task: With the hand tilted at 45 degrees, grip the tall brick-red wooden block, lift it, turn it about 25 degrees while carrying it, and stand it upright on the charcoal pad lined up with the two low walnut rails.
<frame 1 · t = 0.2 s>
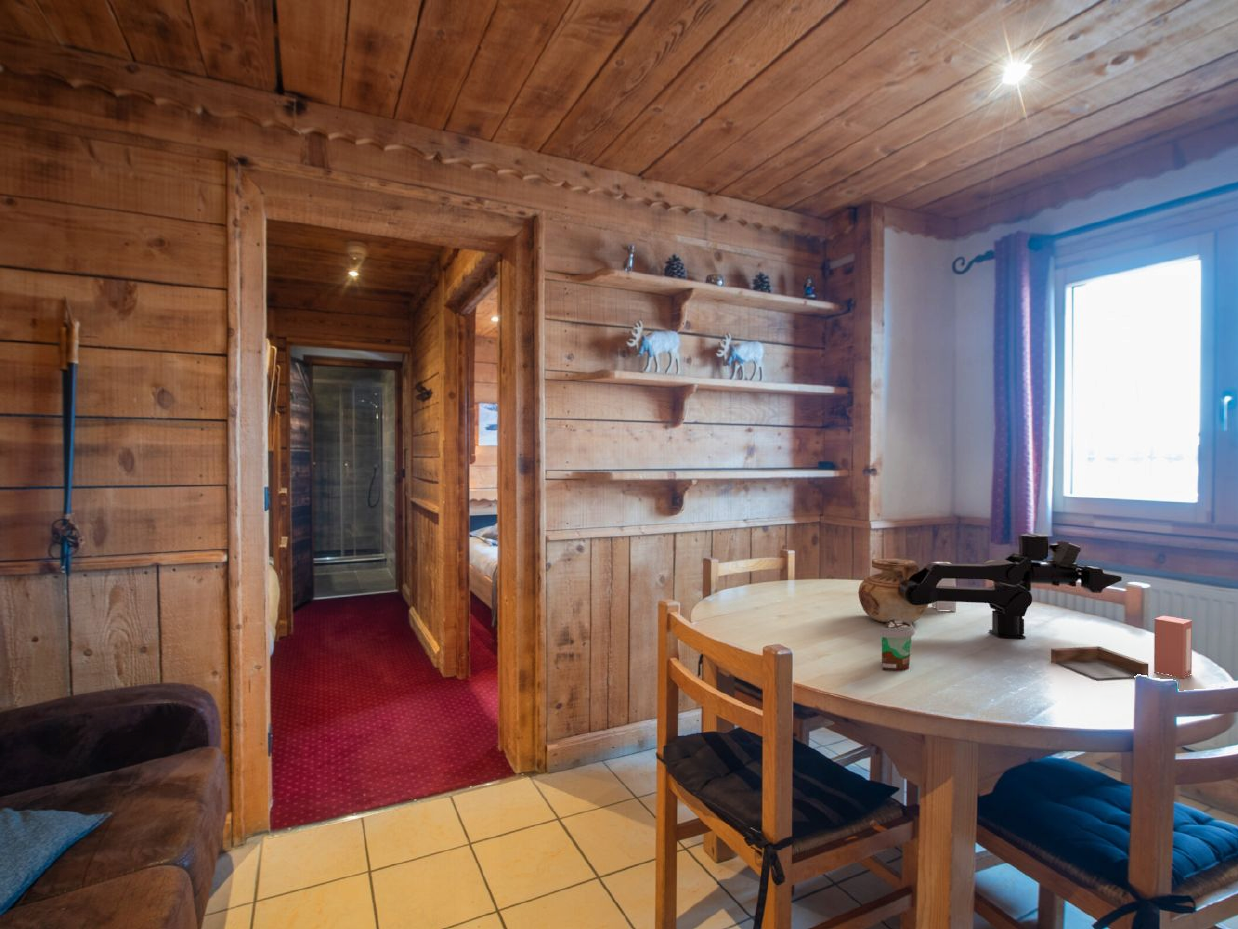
hand: (1109, 575, 167), 17 cm above the table, tool horizontal, fingers open, 9 cm apart
clay pot: (893, 621, 185), on the table, touching arm
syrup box: (943, 610, 198), on the table
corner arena: (1097, 670, 142), on the table
red block: (1172, 673, 140), on the table
food container: (900, 667, 146), on the table
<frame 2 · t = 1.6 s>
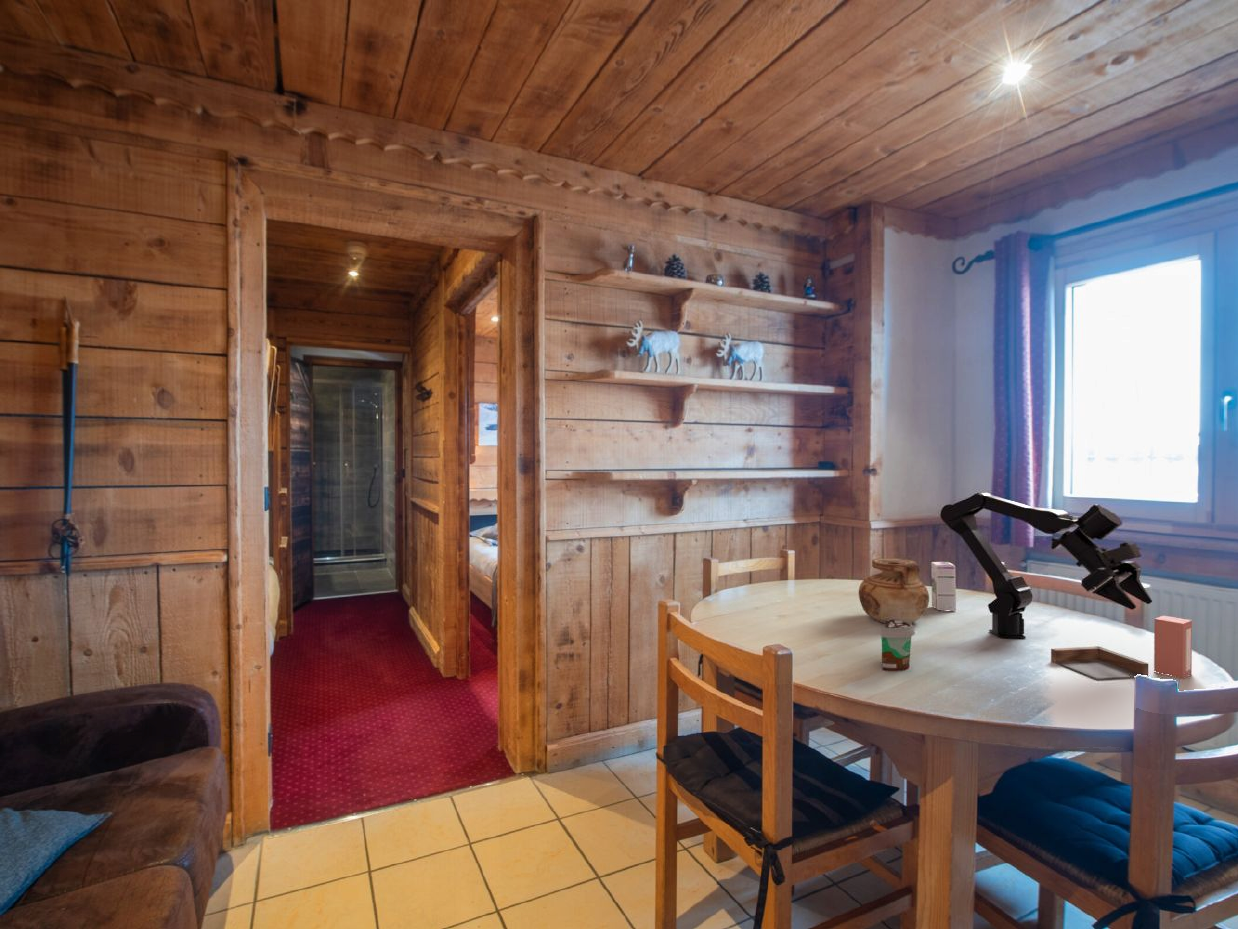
hand: (1142, 605, 145), 14 cm above the table, tool tilted 45°, fingers open, 9 cm apart
clay pot: (893, 621, 186), on the table
everything else where it was.
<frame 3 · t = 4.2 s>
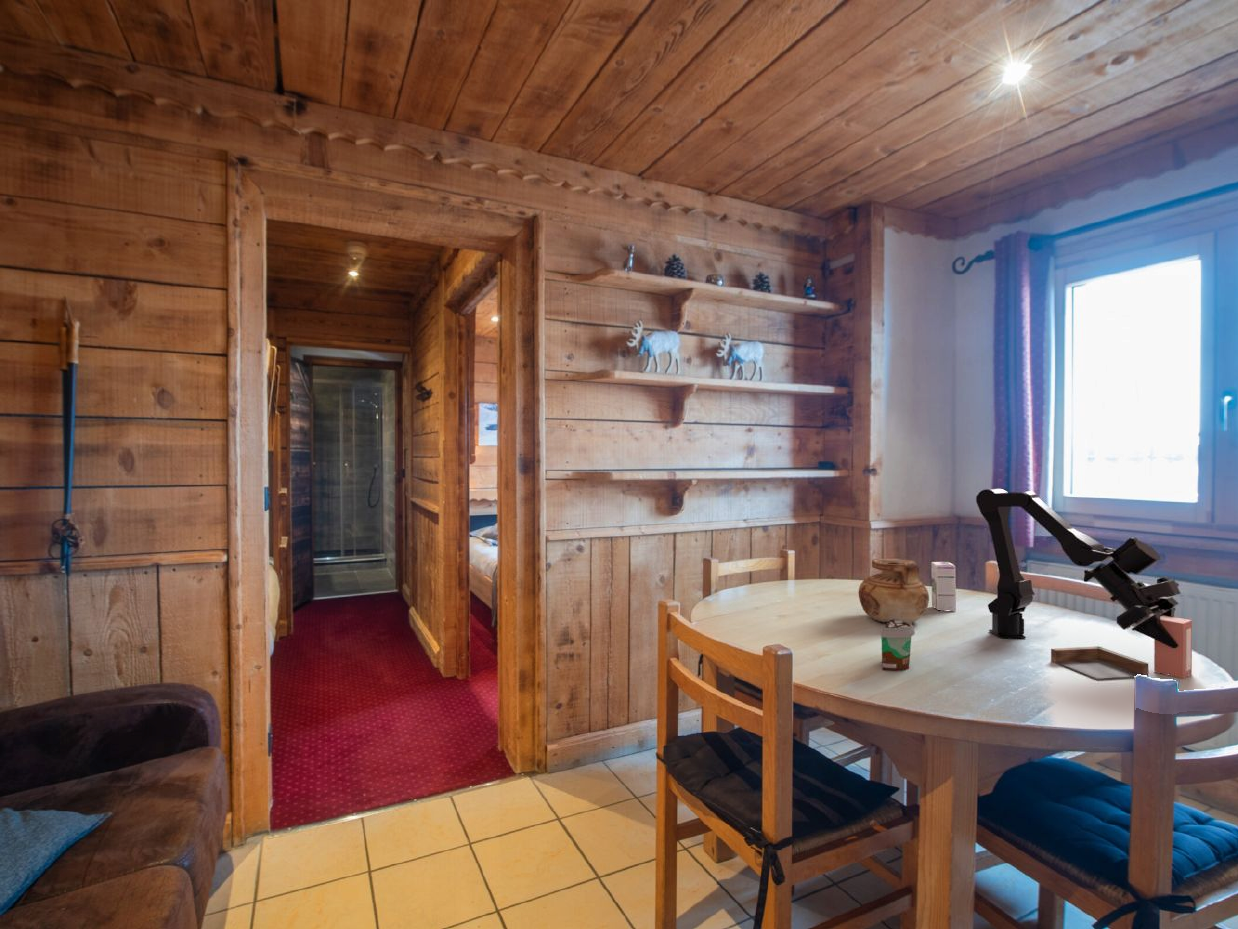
hand: (1181, 645, 139), 7 cm above the table, tool tilted 45°, fingers closed on red block, 5 cm apart
red block: (1172, 673, 140), on the table, touching gripper
everything else where it was.
when the fingers open (8 cm above the table, at t = 10.1 s): red block drops 1 cm, resting on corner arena.
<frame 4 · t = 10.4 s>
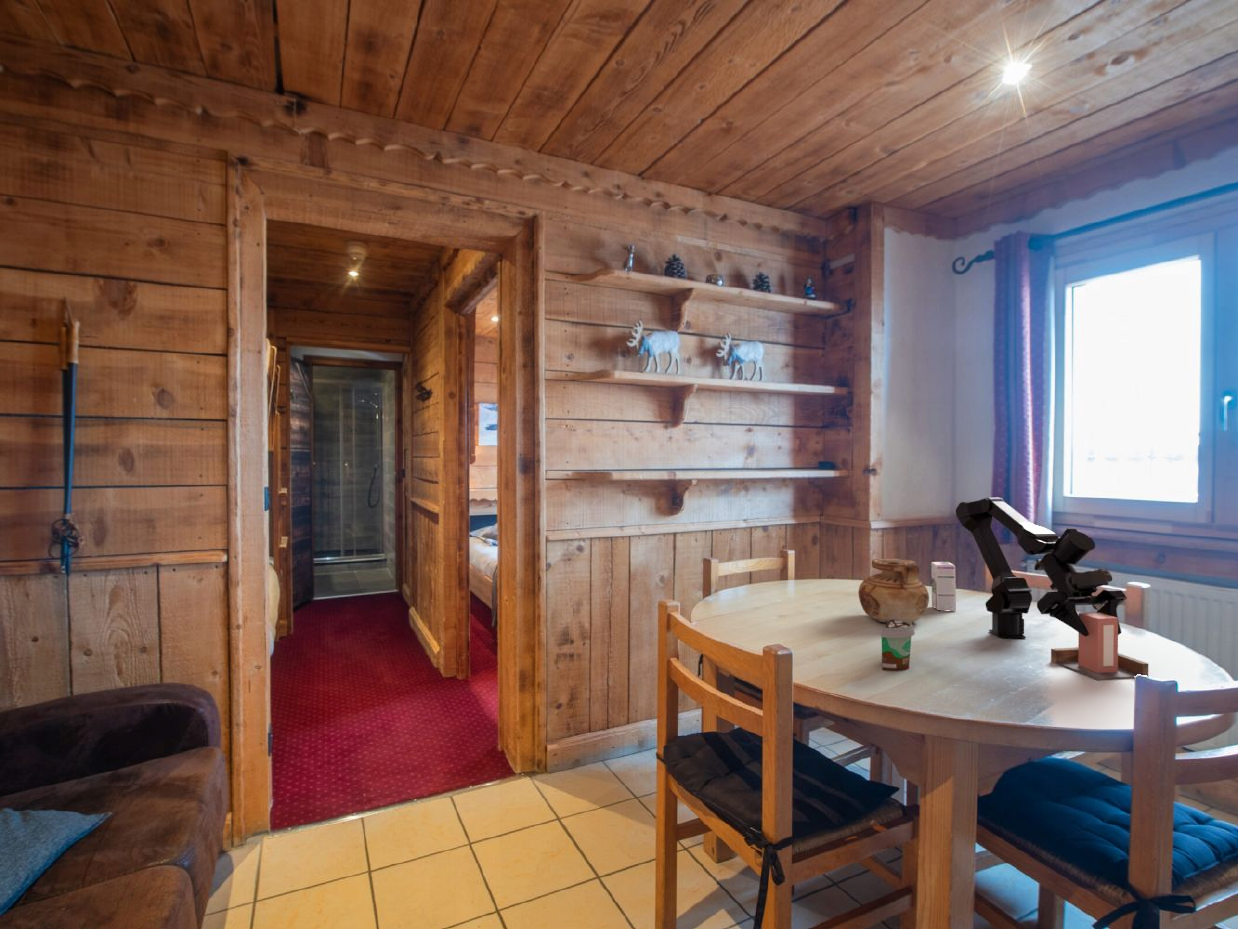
hand: (1103, 634, 141), 8 cm above the table, tool tilted 45°, fingers open, 8 cm apart
red block: (1097, 668, 142), resting on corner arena
everything else where it was.
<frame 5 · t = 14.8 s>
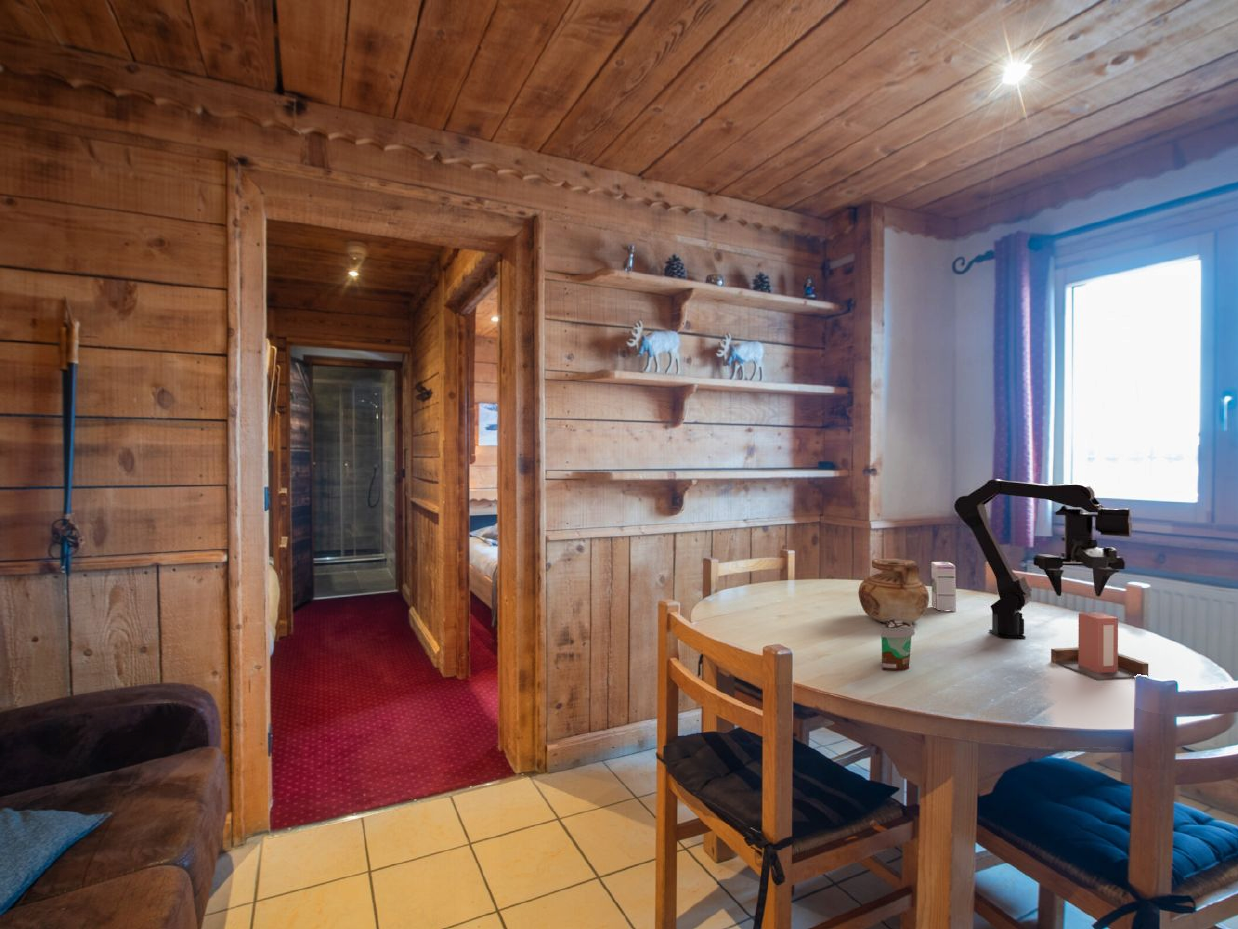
hand: (1078, 596, 159), 13 cm above the table, tool pointing down, fingers open, 9 cm apart
nothing on the table moved.
at the end: red block 0.0 cm off-centre on the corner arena, point 0.4 cm above the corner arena's base; red block tilted 0°; the gripper is holding nothing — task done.
